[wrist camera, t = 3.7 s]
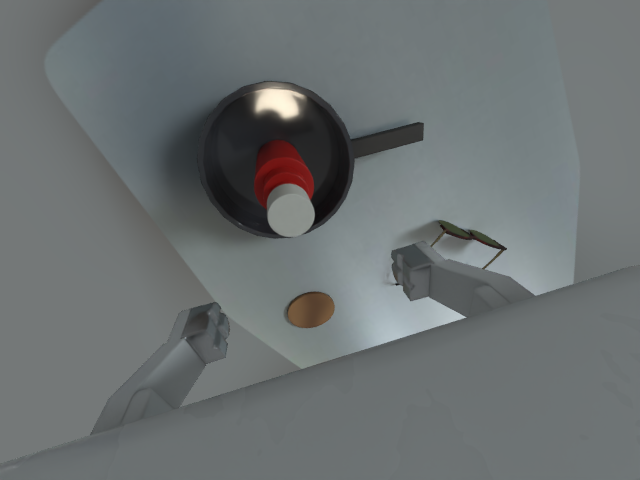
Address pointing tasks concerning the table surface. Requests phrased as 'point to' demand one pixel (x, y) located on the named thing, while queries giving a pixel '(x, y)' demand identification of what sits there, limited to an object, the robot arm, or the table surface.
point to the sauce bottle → (284, 188)
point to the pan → (261, 127)
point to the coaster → (310, 309)
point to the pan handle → (387, 139)
